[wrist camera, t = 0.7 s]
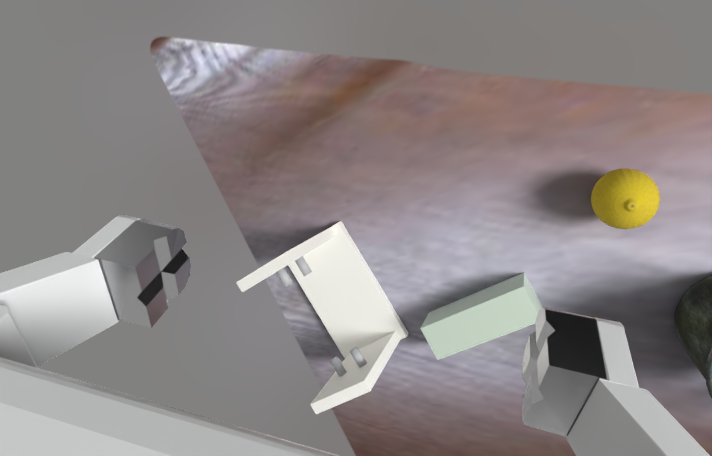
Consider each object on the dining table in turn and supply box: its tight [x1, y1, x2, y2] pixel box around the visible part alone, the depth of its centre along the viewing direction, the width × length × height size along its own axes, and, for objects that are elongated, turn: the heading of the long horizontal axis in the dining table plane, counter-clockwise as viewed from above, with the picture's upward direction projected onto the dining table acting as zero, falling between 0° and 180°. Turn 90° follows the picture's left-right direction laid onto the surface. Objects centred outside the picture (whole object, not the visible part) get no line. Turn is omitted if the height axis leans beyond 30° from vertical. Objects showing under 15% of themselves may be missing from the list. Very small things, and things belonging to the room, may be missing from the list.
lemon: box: [591, 169, 660, 229], centre depth 46 cm, size 6×6×8 cm
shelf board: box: [420, 273, 541, 360], centre depth 54 cm, size 12×4×5 cm, turn 120°
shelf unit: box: [236, 221, 409, 414], centre depth 56 cm, size 16×9×13 cm, turn 33°
